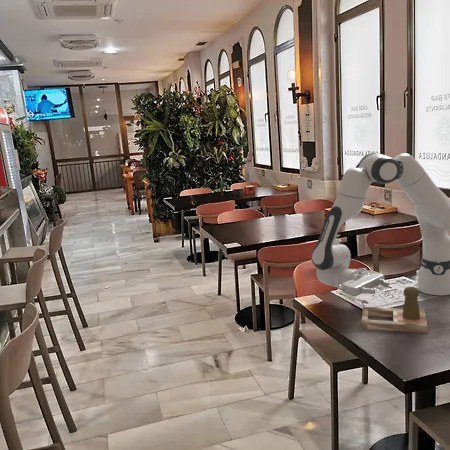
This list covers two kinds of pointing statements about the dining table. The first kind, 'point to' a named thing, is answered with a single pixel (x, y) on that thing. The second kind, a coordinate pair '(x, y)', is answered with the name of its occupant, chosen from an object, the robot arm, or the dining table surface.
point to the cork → (411, 304)
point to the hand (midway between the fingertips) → (381, 288)
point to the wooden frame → (398, 320)
